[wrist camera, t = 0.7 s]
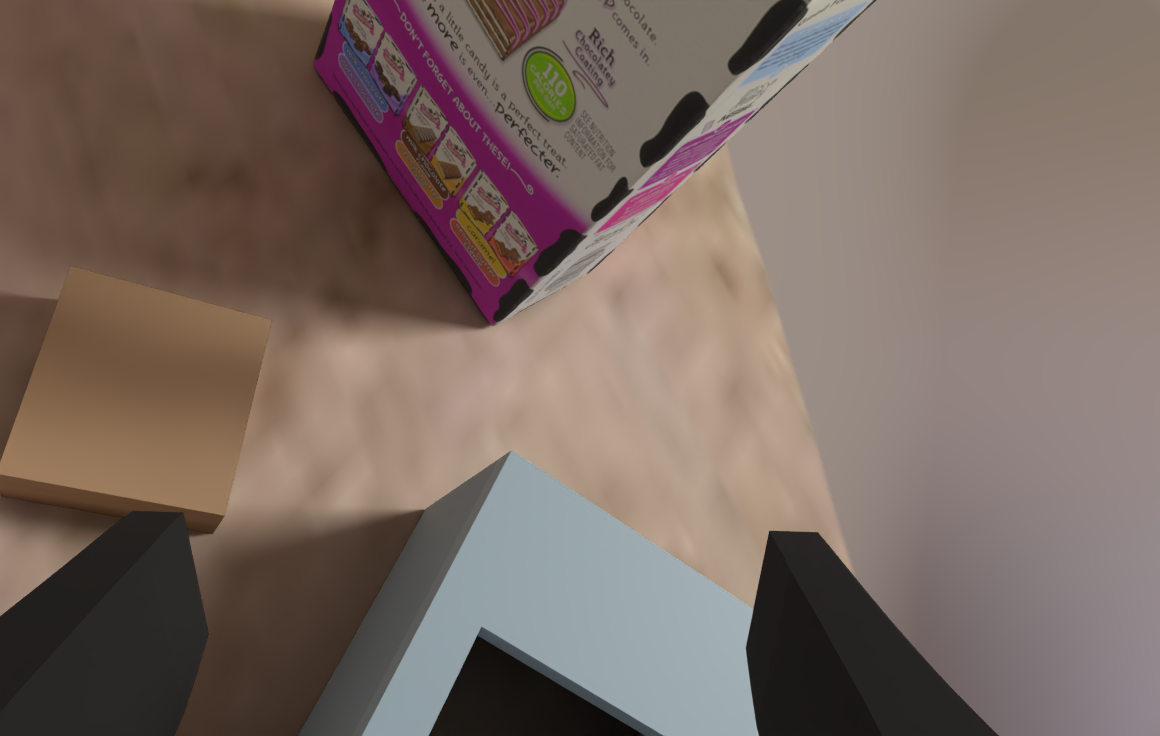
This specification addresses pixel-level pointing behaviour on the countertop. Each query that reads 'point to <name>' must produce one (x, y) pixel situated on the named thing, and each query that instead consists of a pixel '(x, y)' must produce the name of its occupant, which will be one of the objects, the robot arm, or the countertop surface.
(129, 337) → the block
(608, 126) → the candy bar box
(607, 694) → the box
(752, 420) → the countertop surface
